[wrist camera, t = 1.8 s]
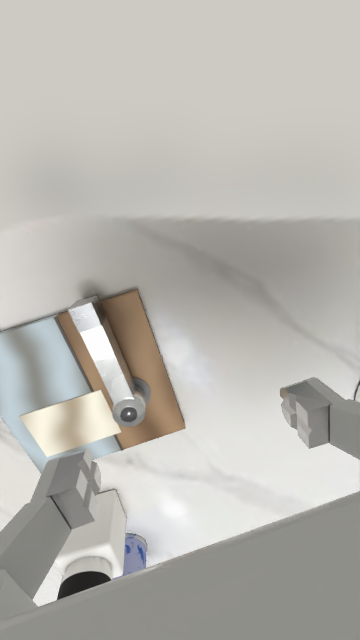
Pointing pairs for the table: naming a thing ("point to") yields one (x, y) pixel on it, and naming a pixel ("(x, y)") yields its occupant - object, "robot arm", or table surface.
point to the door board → (81, 385)
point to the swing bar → (109, 361)
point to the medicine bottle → (94, 549)
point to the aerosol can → (134, 554)
